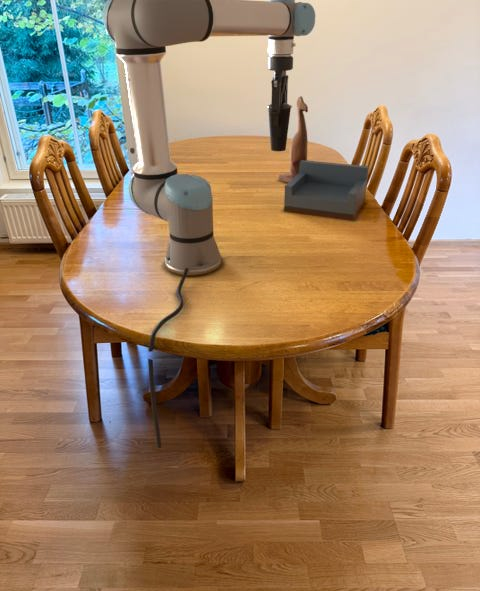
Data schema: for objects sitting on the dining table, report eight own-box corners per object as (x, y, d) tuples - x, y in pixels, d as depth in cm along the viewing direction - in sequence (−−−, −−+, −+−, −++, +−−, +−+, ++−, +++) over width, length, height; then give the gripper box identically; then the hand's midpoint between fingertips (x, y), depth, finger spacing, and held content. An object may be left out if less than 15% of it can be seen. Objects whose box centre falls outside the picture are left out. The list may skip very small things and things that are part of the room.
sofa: (353, 220, 160) (357, 181, 153) (283, 211, 168) (285, 173, 162) (364, 202, 175) (368, 166, 168) (300, 194, 183) (302, 159, 177)
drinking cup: (290, 152, 157) (292, 85, 147) (266, 152, 158) (267, 85, 148) (289, 147, 164) (292, 82, 154) (267, 146, 165) (268, 82, 155)
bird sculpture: (297, 187, 191) (302, 100, 175) (277, 180, 199) (279, 96, 182) (317, 181, 197) (323, 96, 181) (296, 175, 205) (300, 93, 188)
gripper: (286, 58, 138) (284, 141, 150) (298, 53, 154) (295, 129, 165) (261, 58, 140) (260, 140, 152) (275, 53, 156) (273, 128, 167)
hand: (278, 134), depth 159 cm, fingers closed on drinking cup, 6 cm apart
